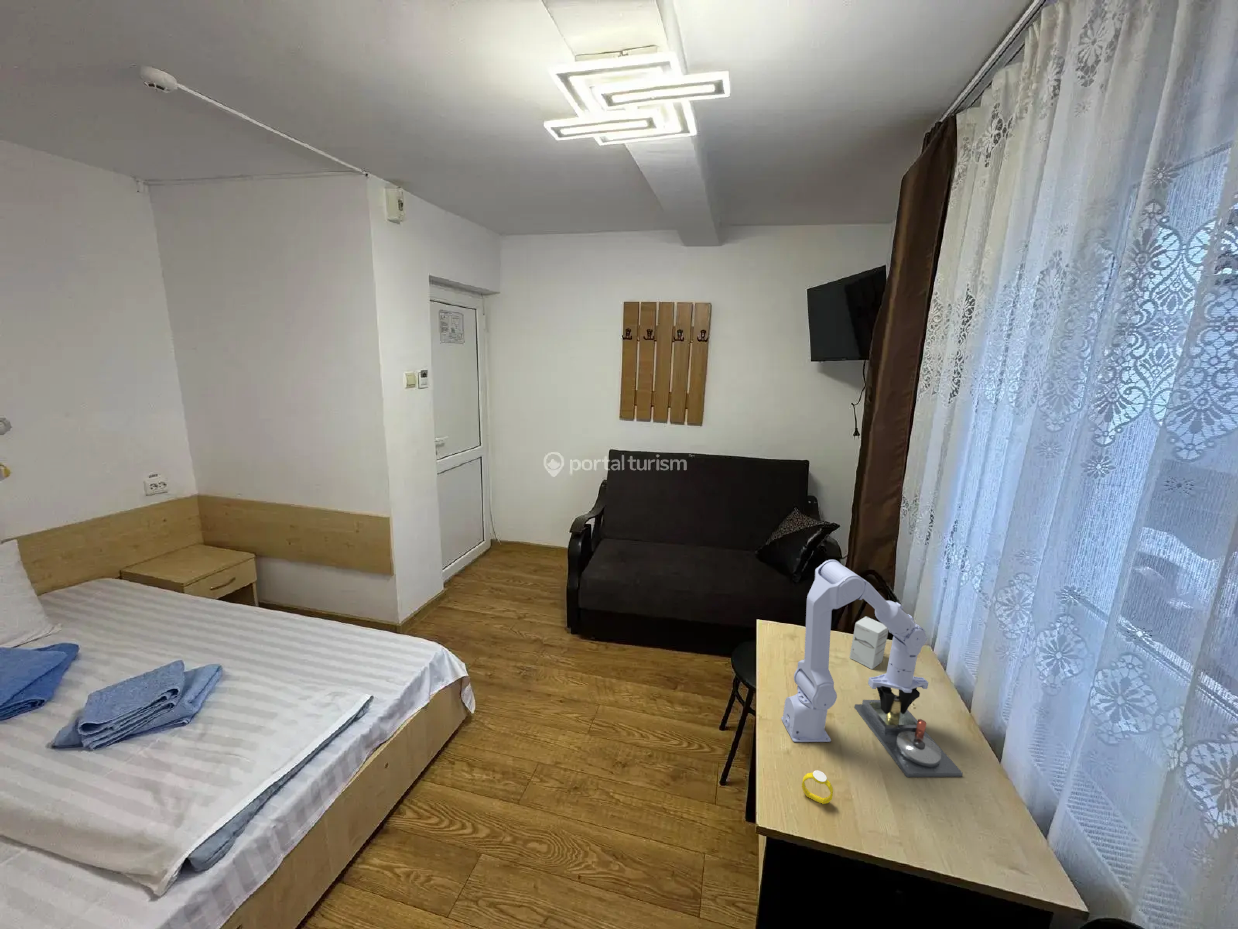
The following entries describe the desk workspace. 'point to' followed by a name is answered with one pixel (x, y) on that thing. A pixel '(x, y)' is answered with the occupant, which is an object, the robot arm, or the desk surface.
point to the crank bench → (888, 737)
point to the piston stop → (894, 711)
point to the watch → (820, 779)
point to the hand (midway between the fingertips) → (892, 711)
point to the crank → (918, 746)
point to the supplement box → (869, 642)
